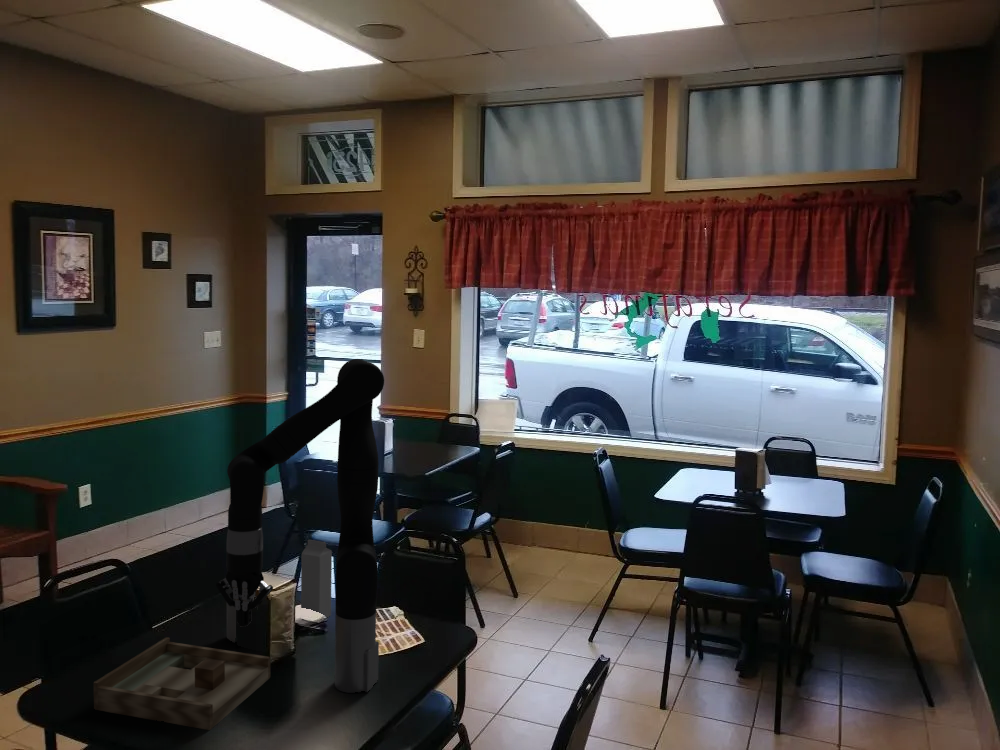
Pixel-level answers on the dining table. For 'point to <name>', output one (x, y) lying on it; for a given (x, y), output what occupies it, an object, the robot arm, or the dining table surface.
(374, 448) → the robot arm
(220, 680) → the block
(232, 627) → the can
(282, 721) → the dining table surface
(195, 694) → the compartment tray
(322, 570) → the milk
